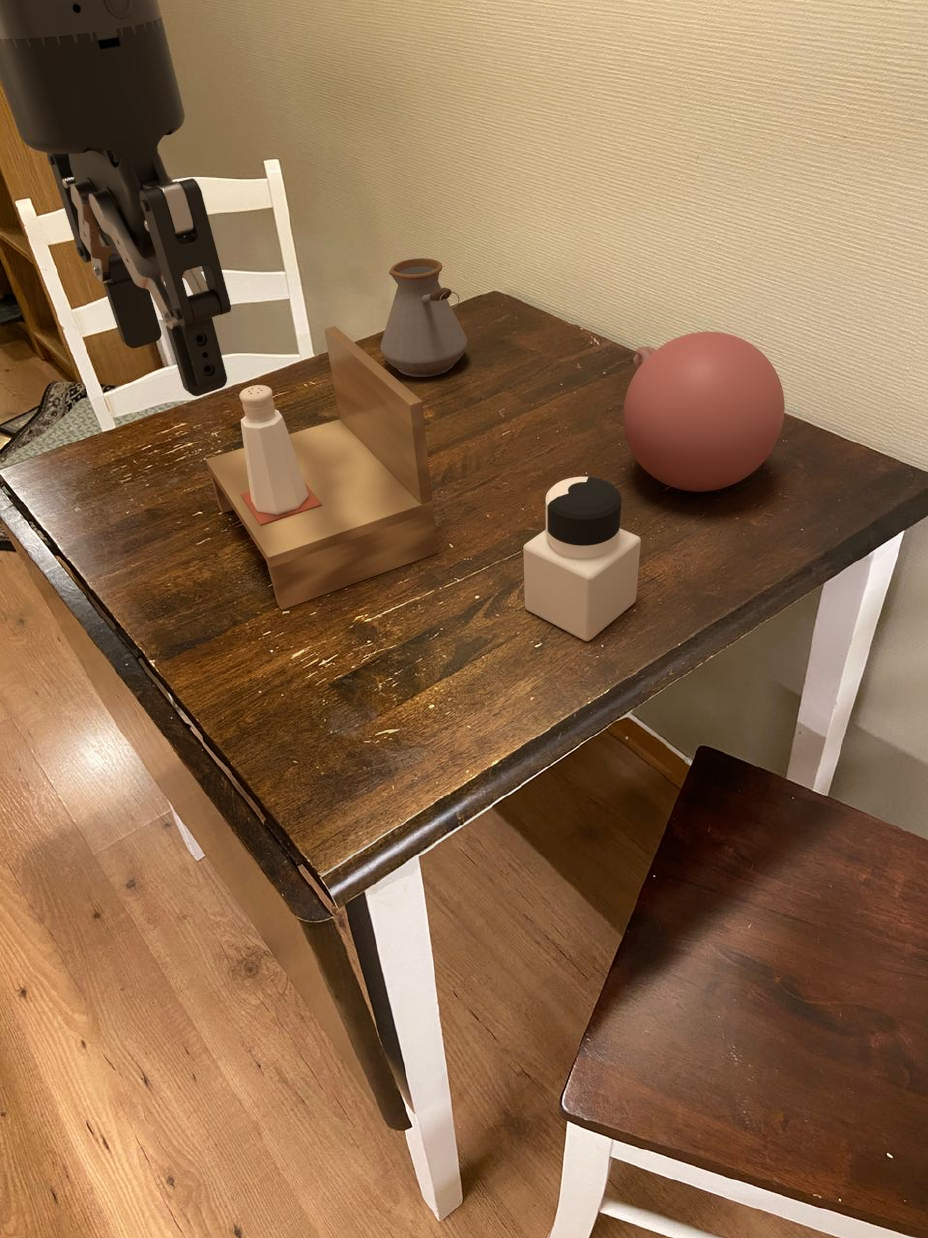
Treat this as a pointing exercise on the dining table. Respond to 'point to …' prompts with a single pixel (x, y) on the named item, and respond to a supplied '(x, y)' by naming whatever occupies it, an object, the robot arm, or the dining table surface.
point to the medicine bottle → (581, 559)
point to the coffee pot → (422, 322)
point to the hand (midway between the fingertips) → (174, 365)
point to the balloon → (703, 410)
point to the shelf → (344, 486)
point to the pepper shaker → (269, 455)
